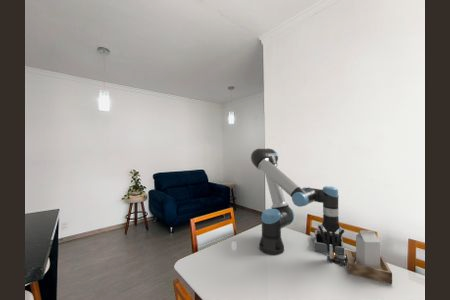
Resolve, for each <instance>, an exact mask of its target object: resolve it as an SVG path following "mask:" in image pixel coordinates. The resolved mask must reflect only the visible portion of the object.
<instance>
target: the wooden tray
mask: <svg viewBox="0 0 450 300" xmlns="http://www.w3.org/2000/svg"><path fill="white" fill-rule="evenodd" d="M344 250H345V256H347V261H345V262H346V267H347V270H348V271H347V272H348V274H349V275H353V276H357V277H361V278H365V279H370V280H373V281H378V282H382V283H386V284H390V285H393V273H392V271H391V268H390V267H389V265H388V263H387V262H386V260H385V258H384V257H383V256H382V255H380V269H376V268H372V267H367V266H362V265H358V264H356V250H350V249H346V248H344ZM353 258H355V263H354V260H353Z"/></svg>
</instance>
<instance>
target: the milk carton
mask: <svg viewBox="0 0 450 300" xmlns="http://www.w3.org/2000/svg"><path fill="white" fill-rule="evenodd" d="M355 245H356V246H355V251H356V264H358V265H362V266H367V267H372V268H376V269H380V256H381V241H380V239H379V238H378V235H377V234H376V231H375V230H359V233H357V234H356V235H355Z"/></svg>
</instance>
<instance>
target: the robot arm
mask: <svg viewBox="0 0 450 300" xmlns="http://www.w3.org/2000/svg"><path fill="white" fill-rule="evenodd" d="M250 160H251V163H252V165H253V166H254V167H255V168H256V169H257V170H258V171H262V172H263V173H264V174H265V175H264V176H265V178H266V183H267V185H268V190H269V195H270V198H271V203H272V205H271V208H267V209H266V208H265V209H264V210H263V211H262V213H261V217H260V219H261V237H260V240H259V242H258V243H259V244H258V245H259V246H258V249H259V250H260V251H261V252H262V253H265V254H267V255H271V256H277V255H281V254H283V253H284V252H285V245H284V242H283V240H282V229H283V228H285V227H286V226H290V225H291V224H292V223H294V221H295V212H294V209H292V208H291V207H290V206H289V203H288V202H286V200H285V196H284V192H285V193H286V194H287V195H289V196H290V197H291V201H292V203H293V204H294V206H296V207H299V208H301V207H307V205H309V204H311V203H313V202H314V203H322V213H323V215H322V217H323V218H322V223H321V224H318V225H317V228H318V229H319V230H320V231H321V235H322V239H323V242H324V244H326V245H327V251H329V252H330V254H329V256H330V258H331V259H333V252H334V253H335V246H339V243H340V240H341V236H343V234H344V233H345V229H344V228H342V227H341V226H340V220H339V219H340V218H339V217H340V216H339V190H338V188H337V187H334V186H328V185H327V186H323V187H322V189H320V188H312V187H310V186H309V187H306V186H305V187H302V188H301V187H300V186H299V185H298V184H297V183H296V182H294V181H293V180H292V179H291V178H290V177H288V176H287V175H286V174H285V173H284V172H283V171H281V170H280V169H279V168H278V160H279V154H278V152H277V151H276V150H275V149H273V148H268V147H267V148H256V149H254V150H253V151H252V152H251V155H250ZM323 229H325V231H326V232H327V241H326V240H325V236H324V232H323V231H324V230H323ZM337 231H338V237H337V241H336V243H335V233H337ZM330 232H332V245H331V244H330Z"/></svg>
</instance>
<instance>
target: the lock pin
mask: <svg viewBox="0 0 450 300" xmlns="http://www.w3.org/2000/svg"><path fill="white" fill-rule="evenodd" d="M340 258H344V262H346V261H347V256H343V255H338V254H335V253H334V252H333V260H335V259H338V260H340ZM353 260H354V263H355V258H353Z"/></svg>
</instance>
